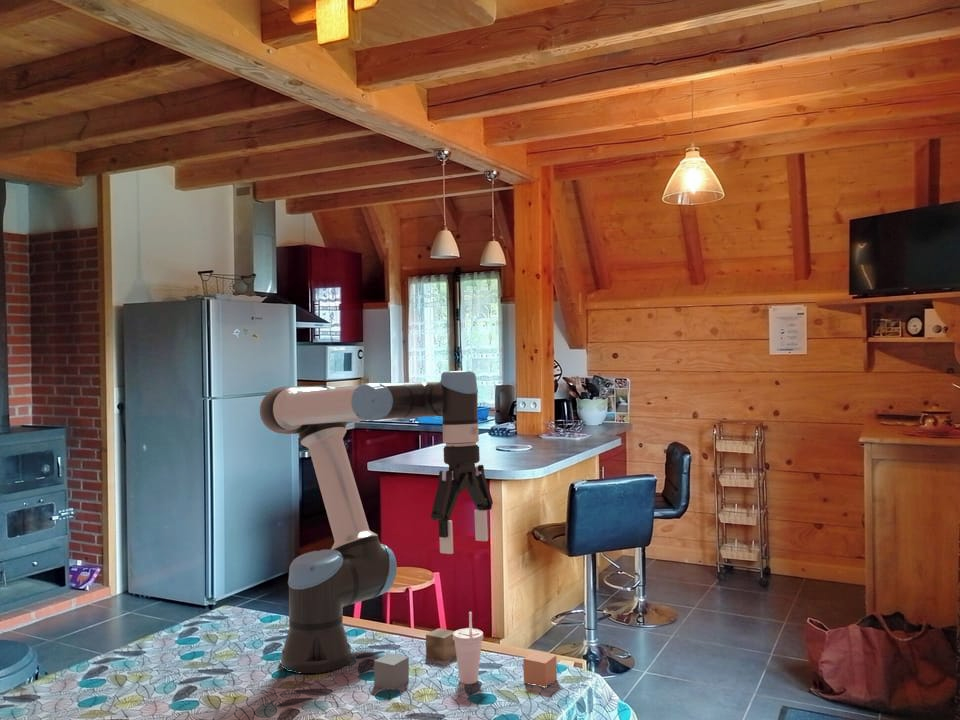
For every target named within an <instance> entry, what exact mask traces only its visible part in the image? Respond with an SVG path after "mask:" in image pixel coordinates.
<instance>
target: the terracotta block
mask: <svg viewBox="0 0 960 720" xmlns="http://www.w3.org/2000/svg"><path fill="white" fill-rule="evenodd" d="M522 664H523V683H524V682H525V683H530V684H536V685H541V686H545V687H546V686H547V685H549V684H550V685H552V684H553V683H554V682H555V681H557V680H556V679H558V677H557V675H558V674H557V673H558V671H557V669H558V668H557V655H555V654H551V653H546V652H541V651H538V650H537V651H535V650H534V651H532V652H531V653H530V654H529V655H526V656H525V657H524V658H523V663H522ZM553 681H554V682H553ZM552 682H553V683H552ZM525 683H524V684H525ZM551 683H552V684H551ZM530 684H529V685H530ZM550 685H549V686H550Z"/></svg>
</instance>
